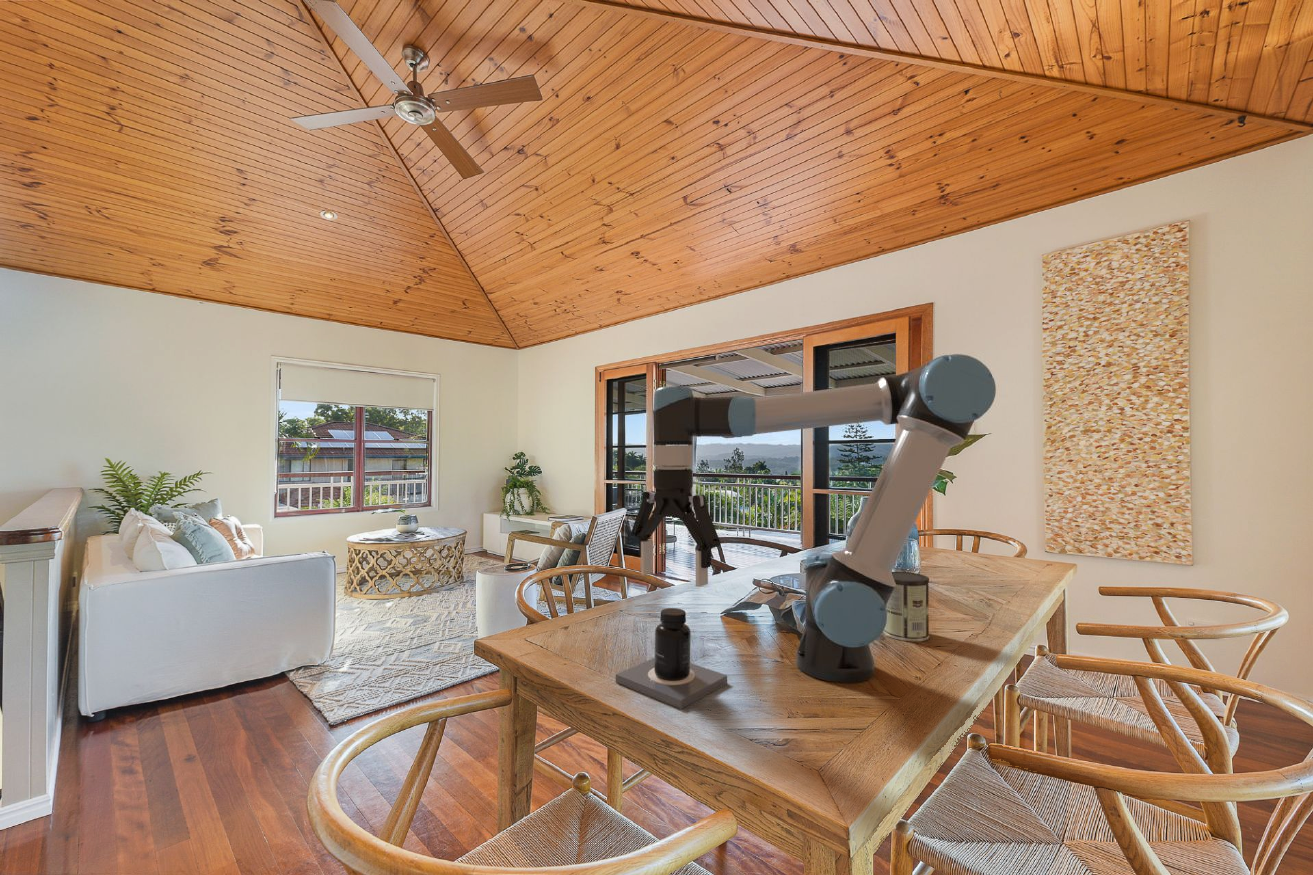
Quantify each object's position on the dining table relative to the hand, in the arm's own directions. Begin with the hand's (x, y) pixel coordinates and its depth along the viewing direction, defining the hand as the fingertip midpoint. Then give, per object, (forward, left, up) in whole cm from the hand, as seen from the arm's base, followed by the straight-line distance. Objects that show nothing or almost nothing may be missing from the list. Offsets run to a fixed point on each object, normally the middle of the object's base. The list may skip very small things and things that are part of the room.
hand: (673, 579), depth 107 cm
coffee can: (-24, -59, -20) cm, 67 cm away
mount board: (0, 0, -20) cm, 20 cm away
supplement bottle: (0, 0, -18) cm, 18 cm away
